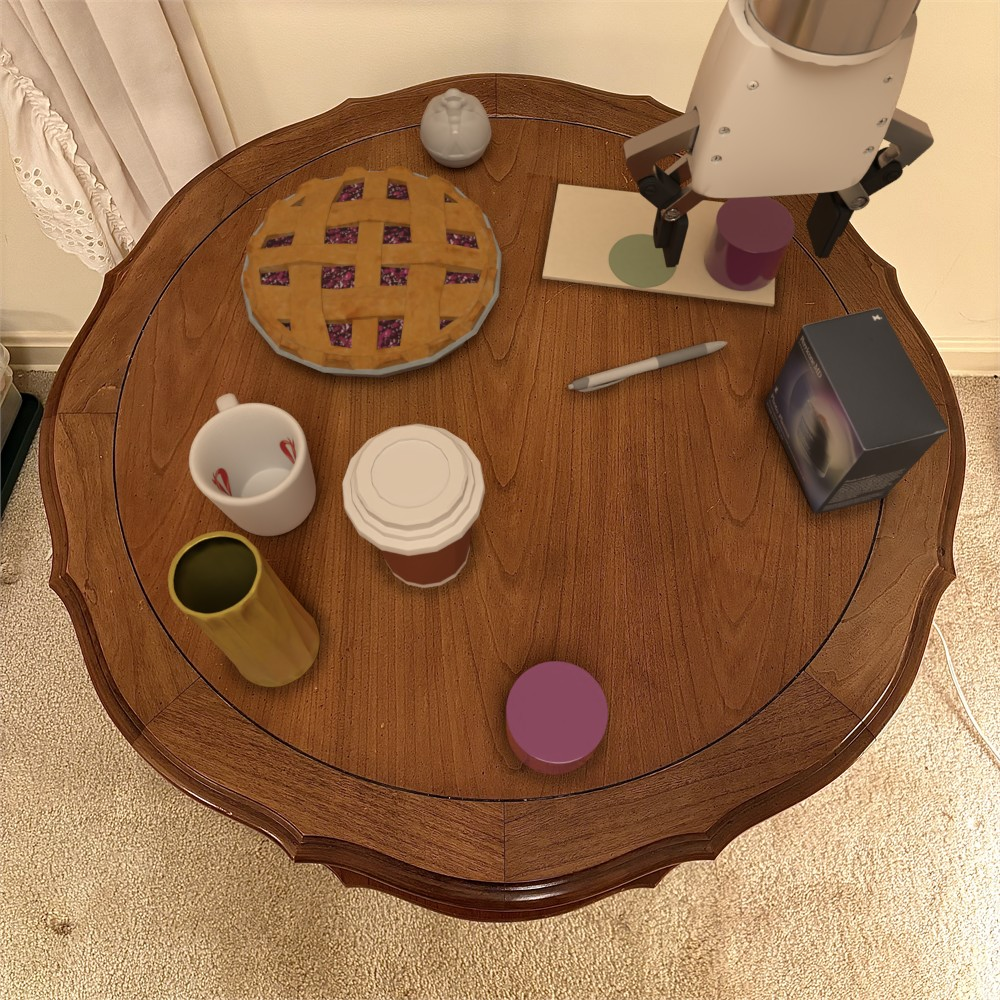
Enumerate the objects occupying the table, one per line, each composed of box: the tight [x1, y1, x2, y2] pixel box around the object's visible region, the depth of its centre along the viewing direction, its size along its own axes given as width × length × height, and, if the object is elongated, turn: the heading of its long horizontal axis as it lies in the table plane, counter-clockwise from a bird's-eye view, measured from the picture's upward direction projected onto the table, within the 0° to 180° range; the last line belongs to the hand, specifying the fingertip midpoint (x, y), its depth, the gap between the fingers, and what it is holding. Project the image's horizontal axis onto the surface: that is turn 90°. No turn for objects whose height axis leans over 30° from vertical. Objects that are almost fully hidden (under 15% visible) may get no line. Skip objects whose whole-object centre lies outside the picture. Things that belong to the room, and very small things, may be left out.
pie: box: [240, 165, 503, 379], centre depth 71 cm, size 22×22×5 cm
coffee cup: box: [341, 423, 486, 589], centre depth 57 cm, size 9×9×12 cm
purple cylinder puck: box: [704, 196, 795, 291], centre depth 72 cm, size 6×6×5 cm
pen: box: [567, 340, 728, 393], centre depth 69 cm, size 1×14×1 cm, turn 108°
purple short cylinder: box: [505, 660, 609, 776], centre depth 55 cm, size 6×6×5 cm
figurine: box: [419, 87, 492, 169], centre depth 77 cm, size 6×7×8 cm
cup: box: [188, 392, 317, 537], centre depth 61 cm, size 11×8×8 cm
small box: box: [763, 307, 949, 515], centre depth 62 cm, size 11×6×10 cm, turn 14°
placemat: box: [541, 183, 776, 308], centre depth 75 cm, size 20×11×1 cm, turn 81°
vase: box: [167, 530, 321, 688], centre depth 53 cm, size 6×6×14 cm
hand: (742, 246), depth 54 cm, fingers open, 9 cm apart
